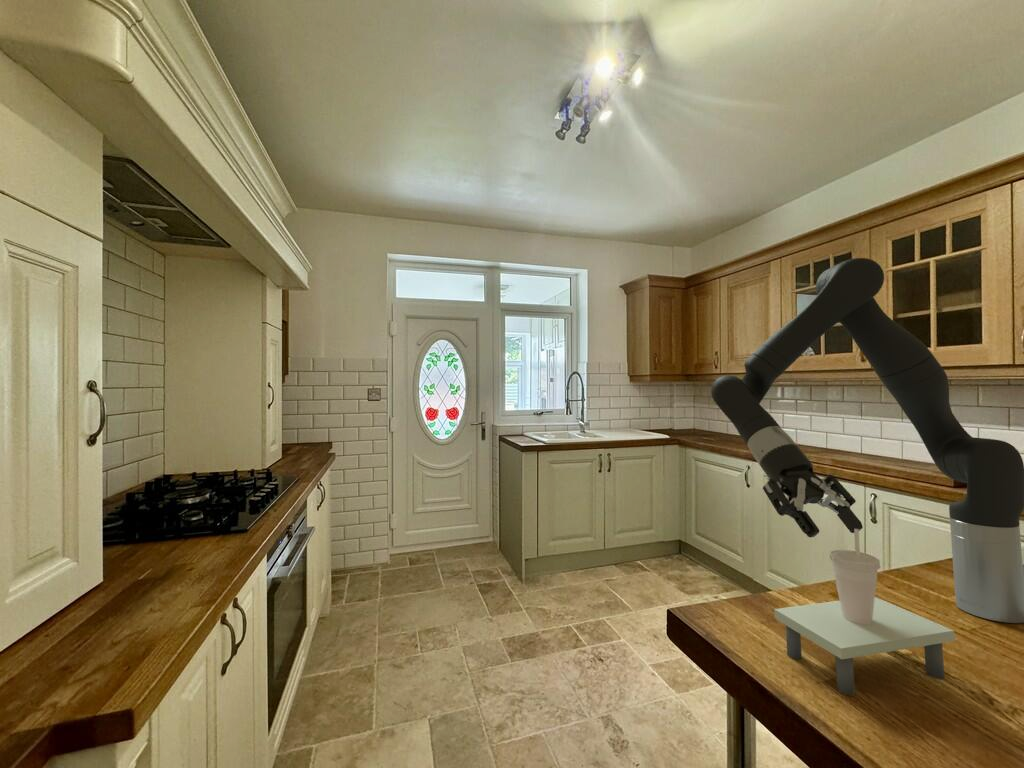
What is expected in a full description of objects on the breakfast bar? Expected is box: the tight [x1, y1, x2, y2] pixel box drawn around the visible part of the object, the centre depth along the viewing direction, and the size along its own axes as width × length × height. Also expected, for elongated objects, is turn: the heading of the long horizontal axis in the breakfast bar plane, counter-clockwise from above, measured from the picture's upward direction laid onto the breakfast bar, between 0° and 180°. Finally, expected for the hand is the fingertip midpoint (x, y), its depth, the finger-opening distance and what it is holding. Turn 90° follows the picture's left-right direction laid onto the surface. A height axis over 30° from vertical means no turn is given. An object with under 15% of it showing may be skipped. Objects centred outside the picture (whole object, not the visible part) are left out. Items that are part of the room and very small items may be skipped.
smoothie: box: [828, 529, 881, 625], centre depth 69 cm, size 6×6×14 cm
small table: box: [774, 596, 956, 697], centre depth 69 cm, size 20×12×7 cm, turn 101°
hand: (836, 532), depth 72 cm, fingers open, 8 cm apart
